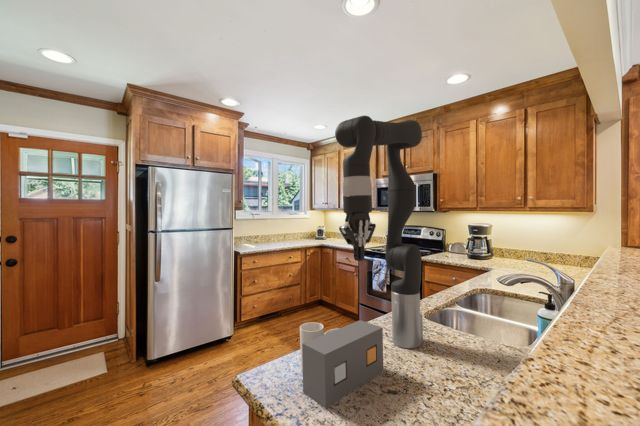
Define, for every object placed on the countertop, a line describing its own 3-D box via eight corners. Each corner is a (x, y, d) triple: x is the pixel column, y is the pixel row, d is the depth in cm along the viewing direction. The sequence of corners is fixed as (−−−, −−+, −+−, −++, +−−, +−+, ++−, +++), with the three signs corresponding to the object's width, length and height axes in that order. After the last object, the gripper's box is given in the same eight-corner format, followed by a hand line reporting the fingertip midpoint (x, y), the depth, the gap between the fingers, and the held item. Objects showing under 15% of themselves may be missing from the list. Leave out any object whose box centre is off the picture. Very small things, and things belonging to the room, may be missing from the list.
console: (360, 360, 84) (359, 320, 84) (383, 371, 78) (382, 327, 78) (303, 392, 69) (302, 343, 69) (325, 408, 63) (324, 354, 63)
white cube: (335, 371, 70) (335, 357, 70) (345, 377, 68) (345, 362, 68) (324, 377, 68) (324, 362, 68) (335, 383, 65) (334, 368, 65)
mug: (328, 372, 78) (327, 328, 78) (305, 378, 75) (304, 333, 75) (314, 356, 87) (313, 317, 87) (293, 361, 84) (292, 320, 84)
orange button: (365, 355, 78) (365, 342, 78) (376, 360, 76) (375, 346, 76) (357, 360, 76) (357, 346, 76) (367, 364, 73) (367, 350, 73)
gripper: (361, 195, 81) (363, 255, 82) (329, 195, 72) (331, 262, 73) (383, 194, 76) (385, 258, 76) (351, 193, 67) (354, 266, 67)
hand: (359, 260), depth 74 cm, fingers closed
